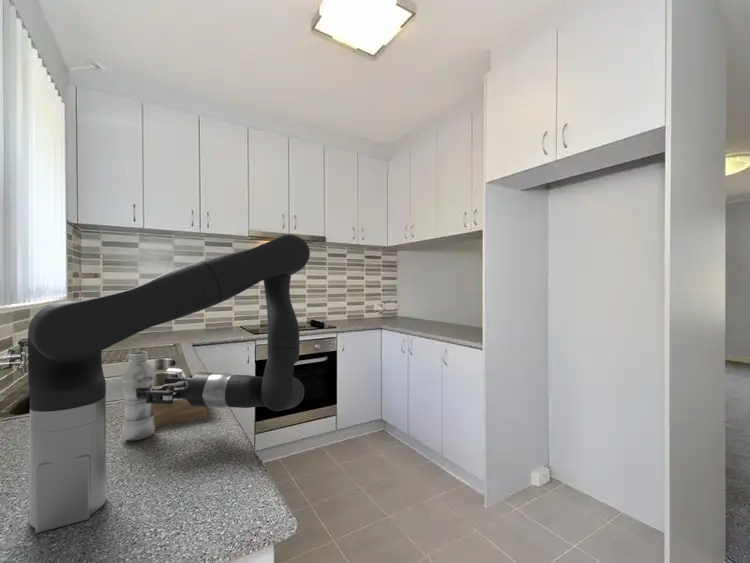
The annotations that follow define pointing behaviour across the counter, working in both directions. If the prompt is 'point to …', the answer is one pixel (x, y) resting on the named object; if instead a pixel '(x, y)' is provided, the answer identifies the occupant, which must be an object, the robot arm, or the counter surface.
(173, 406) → the walled box
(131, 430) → the plastic bottle
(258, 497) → the counter surface
